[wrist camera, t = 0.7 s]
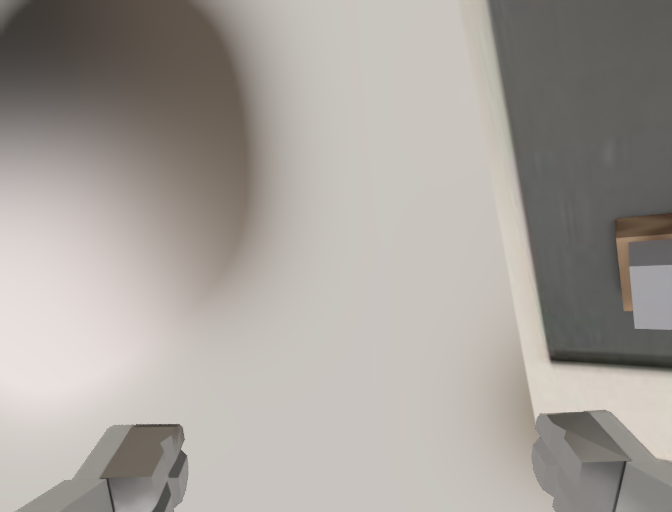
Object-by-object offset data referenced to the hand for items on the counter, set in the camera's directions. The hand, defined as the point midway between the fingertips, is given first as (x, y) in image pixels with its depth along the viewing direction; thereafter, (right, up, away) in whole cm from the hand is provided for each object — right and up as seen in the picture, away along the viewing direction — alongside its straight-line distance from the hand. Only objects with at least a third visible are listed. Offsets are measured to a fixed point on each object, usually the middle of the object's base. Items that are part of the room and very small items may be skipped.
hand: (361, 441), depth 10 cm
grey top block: (+36, +3, +38) cm, 52 cm away
